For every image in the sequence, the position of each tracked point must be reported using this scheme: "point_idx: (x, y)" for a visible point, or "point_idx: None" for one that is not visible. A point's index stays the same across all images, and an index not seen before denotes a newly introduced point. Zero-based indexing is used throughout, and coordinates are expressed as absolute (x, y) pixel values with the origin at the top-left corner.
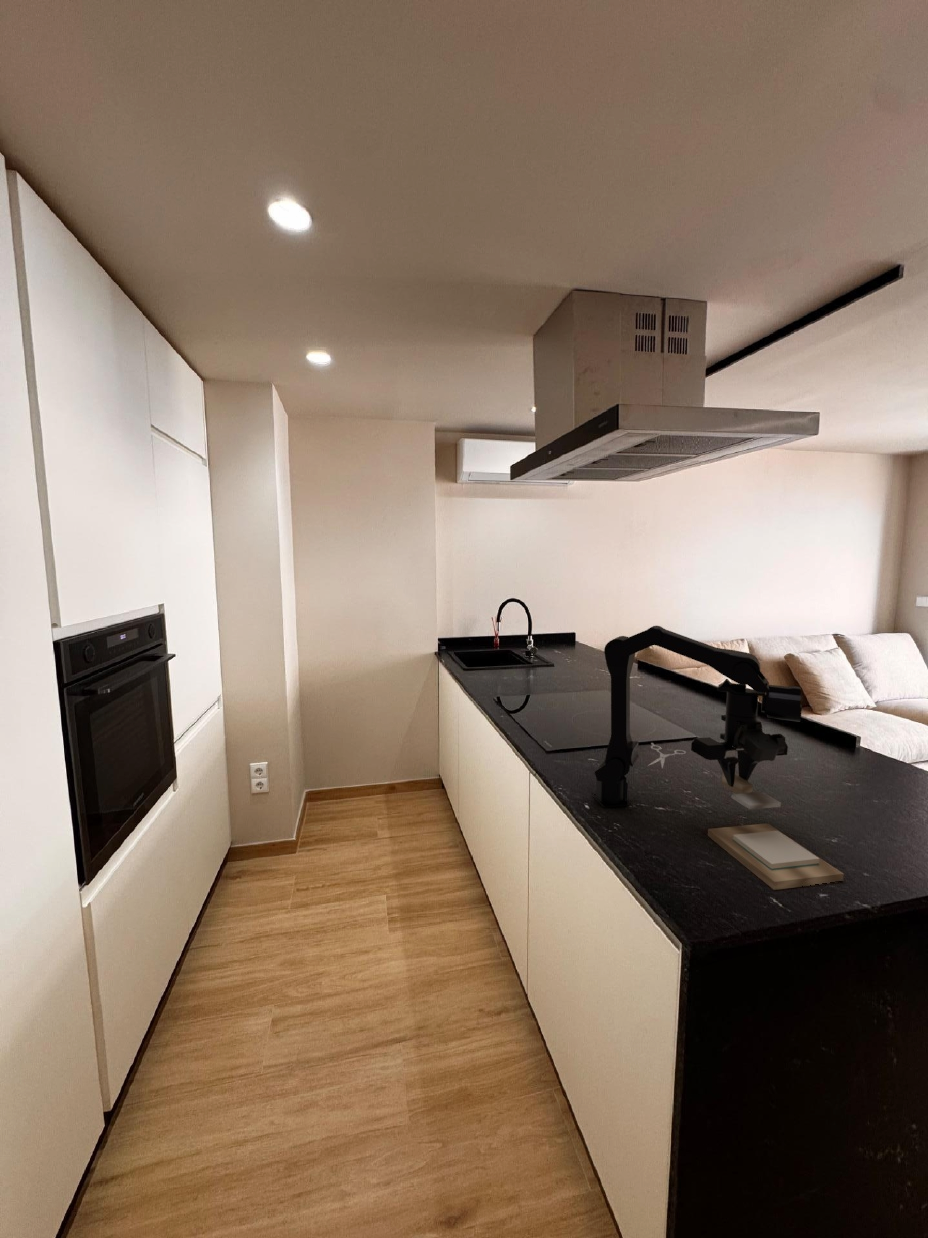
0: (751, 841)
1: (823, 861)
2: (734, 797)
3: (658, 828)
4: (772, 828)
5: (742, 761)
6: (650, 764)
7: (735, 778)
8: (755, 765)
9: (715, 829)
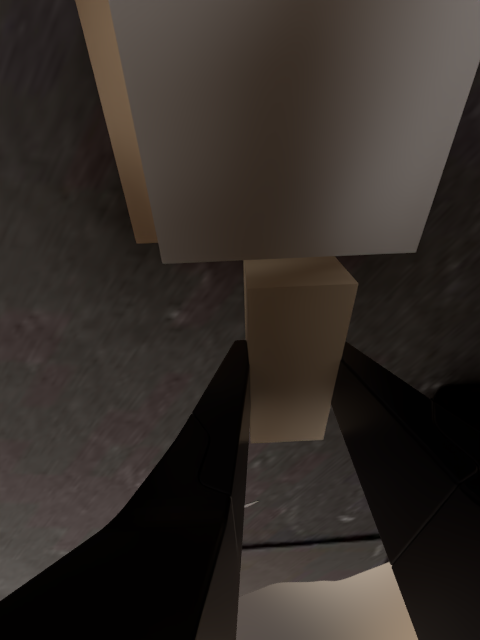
0: None
1: None
2: (418, 219)
3: (475, 285)
4: (137, 203)
5: (237, 540)
6: (247, 505)
7: (301, 386)
8: (151, 485)
9: None
